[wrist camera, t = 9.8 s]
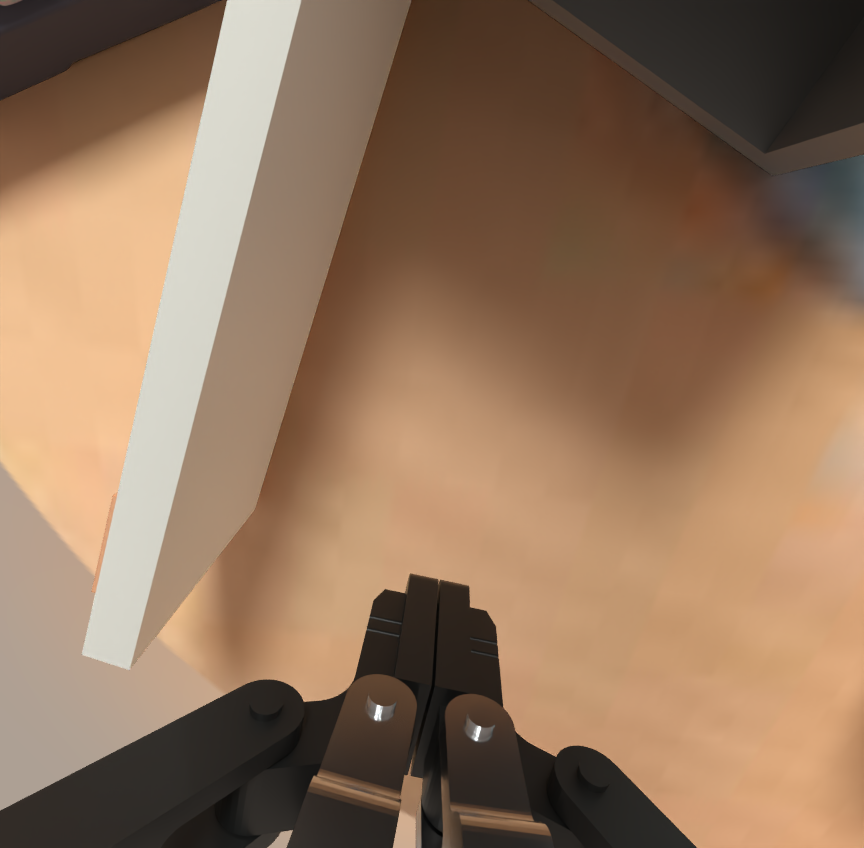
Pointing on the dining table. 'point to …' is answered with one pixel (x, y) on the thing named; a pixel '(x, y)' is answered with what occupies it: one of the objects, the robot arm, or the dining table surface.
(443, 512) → the dining table surface
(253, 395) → the side door
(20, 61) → the calculator
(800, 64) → the grey boxy piece
